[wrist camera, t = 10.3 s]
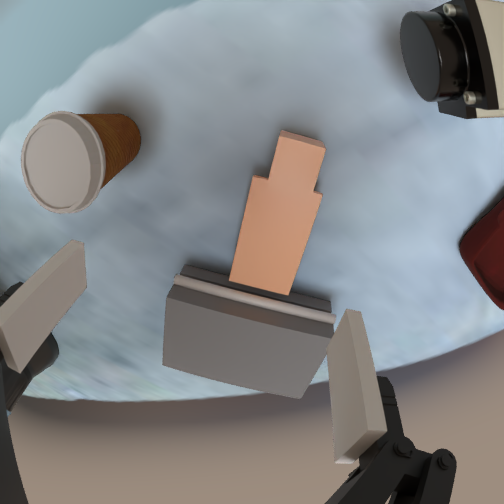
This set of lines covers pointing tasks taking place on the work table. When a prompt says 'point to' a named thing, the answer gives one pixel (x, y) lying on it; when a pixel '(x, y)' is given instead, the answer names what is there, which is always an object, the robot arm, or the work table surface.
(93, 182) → the disposable coffee cup
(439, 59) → the ball valve
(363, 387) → the robot arm
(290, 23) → the work table surface
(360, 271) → the work table surface
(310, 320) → the block
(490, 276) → the ashtray
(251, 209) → the orange stepped block
